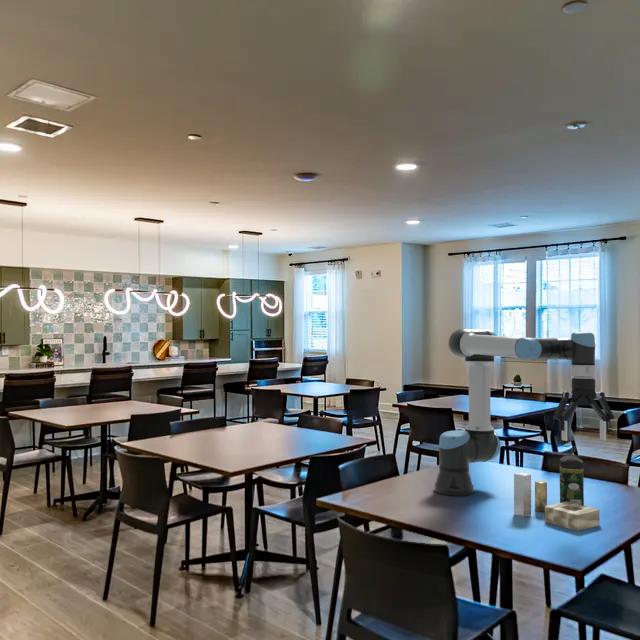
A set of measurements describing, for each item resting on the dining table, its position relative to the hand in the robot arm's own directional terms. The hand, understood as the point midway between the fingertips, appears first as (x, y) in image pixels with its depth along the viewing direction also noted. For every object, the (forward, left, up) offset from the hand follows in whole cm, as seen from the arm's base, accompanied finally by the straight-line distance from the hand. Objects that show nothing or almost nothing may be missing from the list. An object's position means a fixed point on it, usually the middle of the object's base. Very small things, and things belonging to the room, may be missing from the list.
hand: (583, 440), depth 209 cm
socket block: (+1, -8, -26) cm, 28 cm away
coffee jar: (-10, +8, -27) cm, 29 cm away
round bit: (-14, -4, -26) cm, 30 cm away
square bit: (-14, -14, -26) cm, 33 cm away
